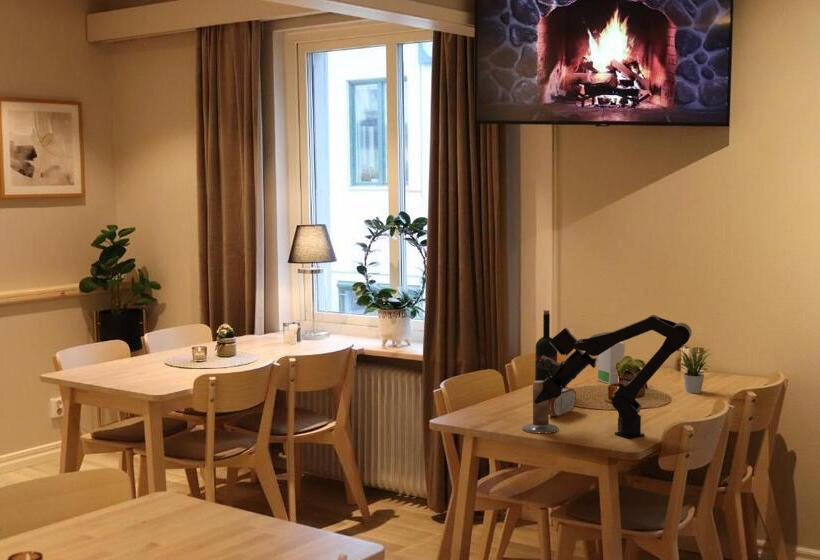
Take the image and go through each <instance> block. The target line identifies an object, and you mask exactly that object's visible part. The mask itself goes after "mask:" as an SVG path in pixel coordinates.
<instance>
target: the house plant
mask: <svg viewBox="0 0 820 560" xmlns="http://www.w3.org/2000/svg"><path fill="white" fill-rule="evenodd" d="M709 350H711V349H705V350H704V351H702V352H700V353H699V355H698V358H697V352H696V351H695V349H693V348H691V349H689V351H690V352H691V355H692V357H691V355H690V356H688V355H687V354H686V352H684V351H683V350H681V349H679V351H680V352H681V353H682V354H683V355H682V354H680V353H679V356H681V357H682V361H683V362H678V364H680V365H681V366H679V367H678V369H684V370H685V371H686V372H684V373H683V380H684V381H683V382H684V387H685V392H686V393H687V394H688V393H689V394H700V393H701V392H702V389H703V383H704V378H705V375H704V374H703V373H701V371H702V370H707V371H709V369H708V368H710V369H711V366H710V365H707V367H708V368H705V367H706V364H707V363H708V362H710V361H705V360H706V359H707V357H708V356H710V355H712V354H715V352H712V353H708V354H707V355H706V353H707V352H708V351H709ZM704 361H705V362H704ZM682 366H683V367H682ZM684 367H685V368H684Z"/></svg>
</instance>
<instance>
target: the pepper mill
mask: <svg viewBox="0 0 820 560" xmlns="http://www.w3.org/2000/svg"><path fill="white" fill-rule="evenodd" d="M542 383H543V381H535V380H534V381H532V424H534V425H537V426H545V425H548V424H550V422H549V421H550V419H549V417H550V415H549V400H546V401H543V402H541V403H538V404H536V403H535V402H534V401H535V399H536V398H537V396H538V395H539V394H540V392H541V391H542V389H543V384H542Z"/></svg>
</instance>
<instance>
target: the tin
mask: <svg viewBox="0 0 820 560" xmlns="http://www.w3.org/2000/svg"><path fill="white" fill-rule="evenodd" d="M576 402H577V392H576V390H575V389H574V388H570V387H568V386H566V387H565V388H563V392H562V394H561V395H560V396H559V397H558V398H552V399H549V417H550V416H552V417H557V418H558V417H560V416H564V415H566V414H569V413H572V412H573V410H574V409H575V406H576V404H577V403H576Z"/></svg>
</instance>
